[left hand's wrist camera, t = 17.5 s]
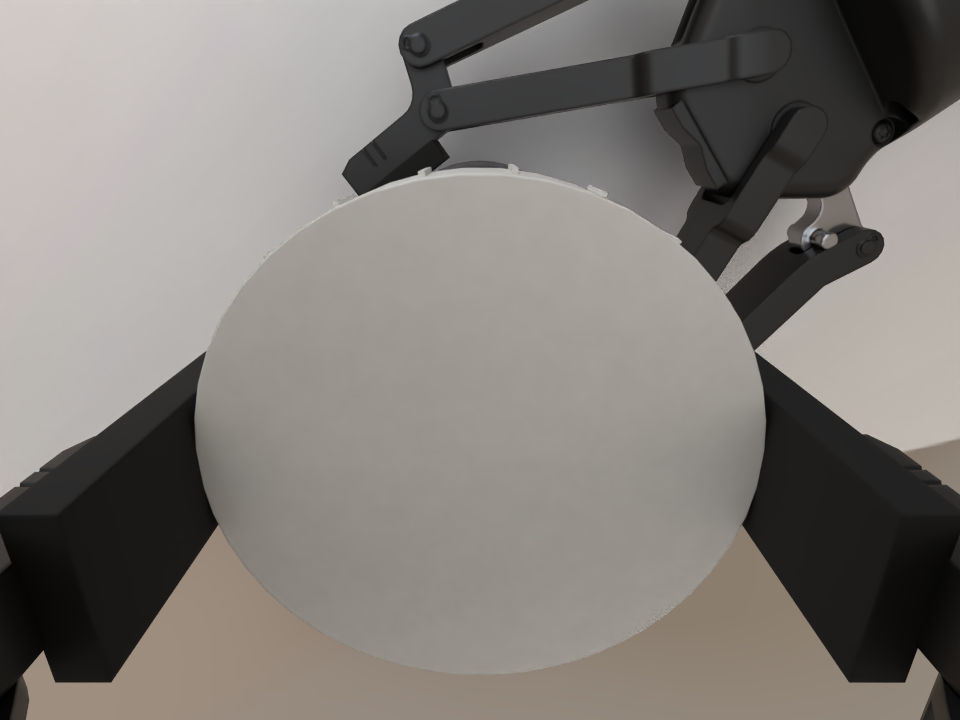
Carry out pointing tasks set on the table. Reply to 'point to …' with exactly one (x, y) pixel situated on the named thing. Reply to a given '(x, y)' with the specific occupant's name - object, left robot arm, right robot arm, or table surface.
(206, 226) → the table surface
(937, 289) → the table surface
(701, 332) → the lid
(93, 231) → the table surface
